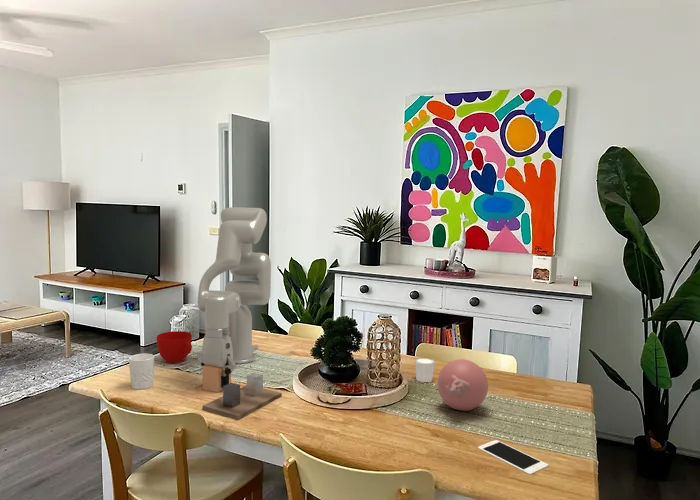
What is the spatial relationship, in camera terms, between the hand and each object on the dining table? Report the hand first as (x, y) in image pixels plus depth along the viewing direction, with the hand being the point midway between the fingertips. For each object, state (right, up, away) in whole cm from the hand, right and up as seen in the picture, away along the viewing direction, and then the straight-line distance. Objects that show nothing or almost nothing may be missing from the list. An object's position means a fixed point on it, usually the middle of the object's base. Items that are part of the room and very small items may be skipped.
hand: (216, 384), depth 174 cm
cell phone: (+86, -8, -42) cm, 96 cm away
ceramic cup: (-22, +2, +27) cm, 35 cm away
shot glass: (+71, -2, +13) cm, 73 cm away
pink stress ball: (+78, -5, -15) cm, 80 cm away
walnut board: (+11, -3, -12) cm, 17 cm away
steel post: (+14, -2, -7) cm, 16 cm away
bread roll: (+40, -3, -7) cm, 40 cm away
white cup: (-25, -1, 0) cm, 25 cm away
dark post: (+9, -3, -17) cm, 19 cm away
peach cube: (0, -1, 0) cm, 1 cm away
